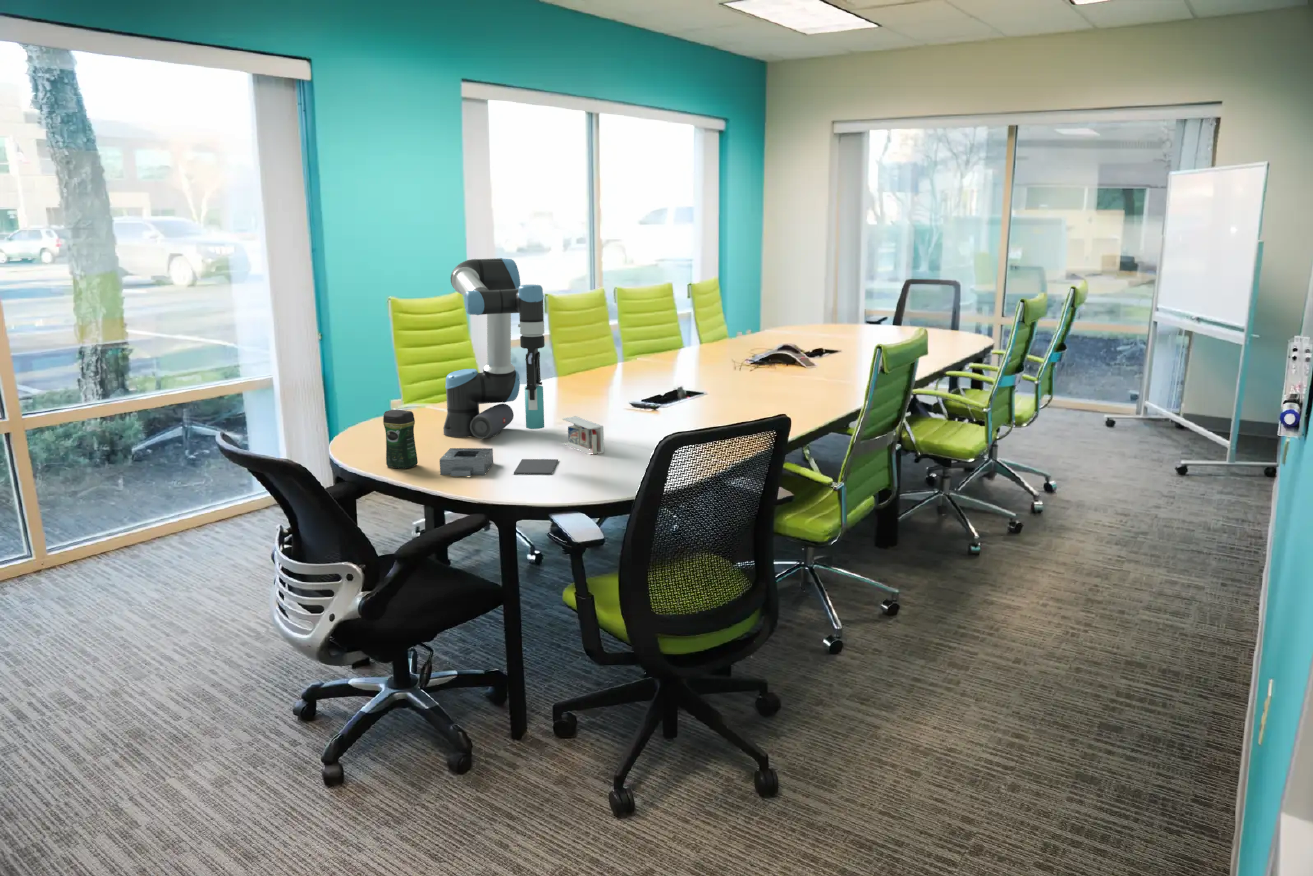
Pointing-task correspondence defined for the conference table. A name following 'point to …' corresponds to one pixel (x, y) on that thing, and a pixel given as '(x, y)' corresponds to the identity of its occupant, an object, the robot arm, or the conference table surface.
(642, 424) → the conference table surface
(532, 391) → the robot arm
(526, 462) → the mat
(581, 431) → the cigarette display
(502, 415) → the bluetooth speaker
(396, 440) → the coffee jar
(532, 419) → the teal cylinder
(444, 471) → the housing
